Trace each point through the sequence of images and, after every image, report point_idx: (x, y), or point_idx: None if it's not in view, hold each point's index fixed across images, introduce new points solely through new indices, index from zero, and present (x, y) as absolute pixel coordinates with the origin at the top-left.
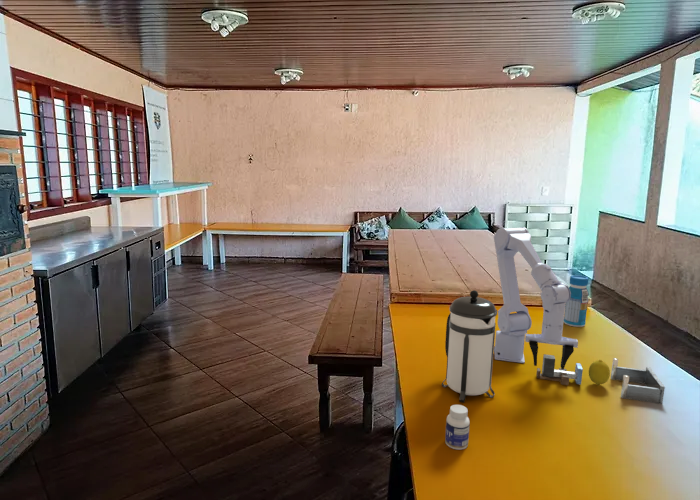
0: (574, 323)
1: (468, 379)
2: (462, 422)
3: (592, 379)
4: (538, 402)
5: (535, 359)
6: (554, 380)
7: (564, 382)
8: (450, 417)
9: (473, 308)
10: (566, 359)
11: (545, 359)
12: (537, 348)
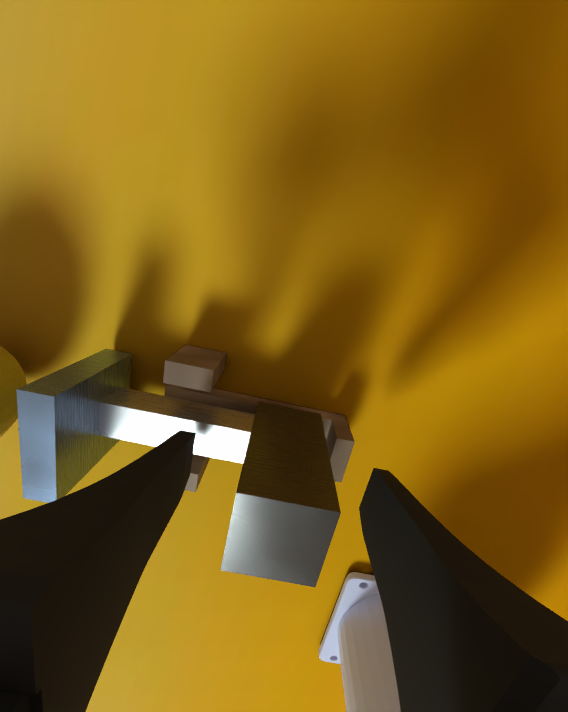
0: None
1: None
2: None
3: (8, 360)
4: (485, 37)
5: (413, 505)
6: (250, 396)
7: (203, 352)
8: None
9: None
10: (119, 478)
11: (329, 498)
12: (518, 634)
